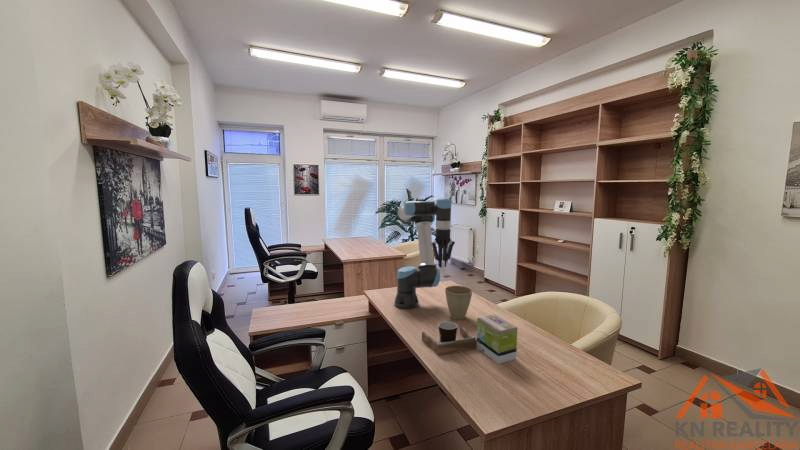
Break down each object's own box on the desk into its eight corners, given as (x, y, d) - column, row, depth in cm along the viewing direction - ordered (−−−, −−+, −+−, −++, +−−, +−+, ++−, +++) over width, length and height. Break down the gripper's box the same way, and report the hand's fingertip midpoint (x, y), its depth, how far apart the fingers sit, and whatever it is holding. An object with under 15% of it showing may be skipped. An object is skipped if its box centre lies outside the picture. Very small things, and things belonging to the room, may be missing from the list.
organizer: (421, 340, 151) (421, 330, 151) (462, 333, 158) (462, 324, 158) (435, 356, 137) (435, 345, 136) (479, 348, 144) (479, 338, 143)
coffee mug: (455, 352, 140) (455, 330, 139) (436, 348, 143) (436, 327, 142) (460, 340, 151) (460, 320, 150) (442, 337, 154) (442, 317, 153)
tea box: (475, 348, 144) (476, 317, 142) (493, 344, 148) (494, 313, 146) (498, 365, 130) (499, 330, 128) (517, 359, 134) (518, 326, 132)
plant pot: (452, 324, 169) (453, 295, 167) (440, 313, 183) (440, 287, 181) (476, 320, 174) (477, 292, 172) (462, 310, 188) (463, 284, 186)
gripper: (434, 230, 157) (433, 276, 160) (457, 229, 161) (456, 274, 164) (428, 228, 164) (427, 272, 167) (451, 226, 168) (450, 270, 171)
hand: (442, 272), depth 166 cm, fingers closed
